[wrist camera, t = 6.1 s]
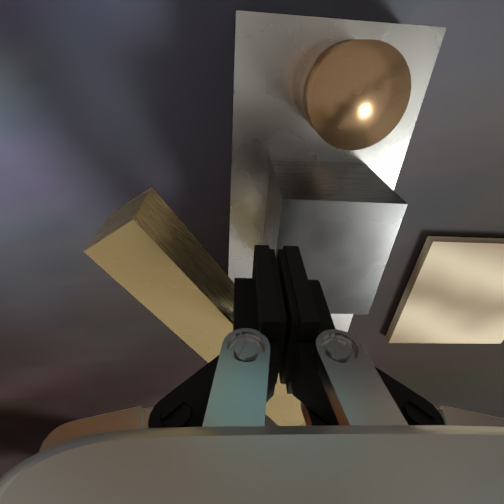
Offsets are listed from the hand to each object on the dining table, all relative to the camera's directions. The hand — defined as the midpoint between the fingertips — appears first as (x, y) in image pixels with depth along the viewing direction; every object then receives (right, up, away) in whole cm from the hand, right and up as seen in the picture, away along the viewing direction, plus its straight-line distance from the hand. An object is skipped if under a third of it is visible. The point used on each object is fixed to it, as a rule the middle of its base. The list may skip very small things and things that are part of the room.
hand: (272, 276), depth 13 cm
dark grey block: (+3, +3, +6) cm, 7 cm away
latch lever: (-1, -2, +3) cm, 4 cm away
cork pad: (+18, -3, +15) cm, 24 cm away
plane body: (+2, +3, +11) cm, 11 cm away
